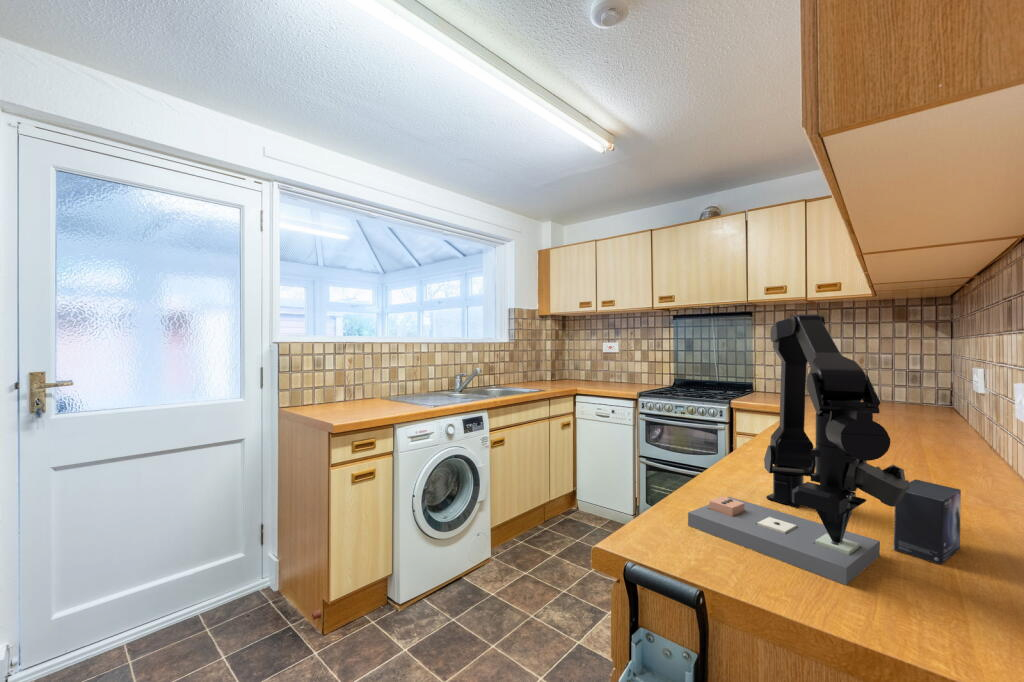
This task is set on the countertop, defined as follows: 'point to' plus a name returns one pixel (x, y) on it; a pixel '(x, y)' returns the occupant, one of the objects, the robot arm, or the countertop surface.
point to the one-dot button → (777, 525)
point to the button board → (788, 540)
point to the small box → (928, 521)
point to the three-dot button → (726, 506)
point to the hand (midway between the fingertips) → (836, 541)
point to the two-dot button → (838, 545)
